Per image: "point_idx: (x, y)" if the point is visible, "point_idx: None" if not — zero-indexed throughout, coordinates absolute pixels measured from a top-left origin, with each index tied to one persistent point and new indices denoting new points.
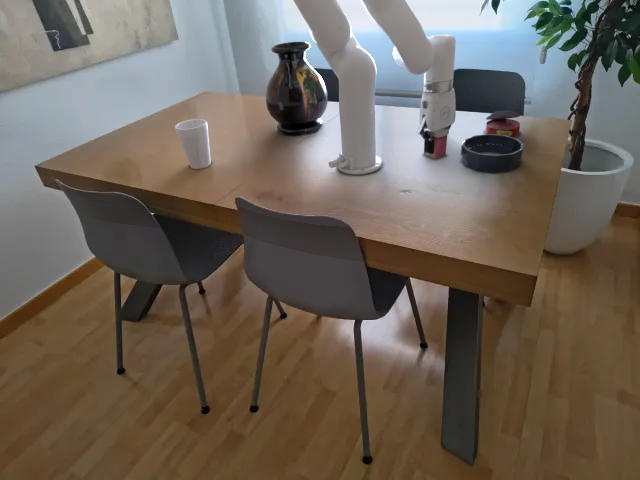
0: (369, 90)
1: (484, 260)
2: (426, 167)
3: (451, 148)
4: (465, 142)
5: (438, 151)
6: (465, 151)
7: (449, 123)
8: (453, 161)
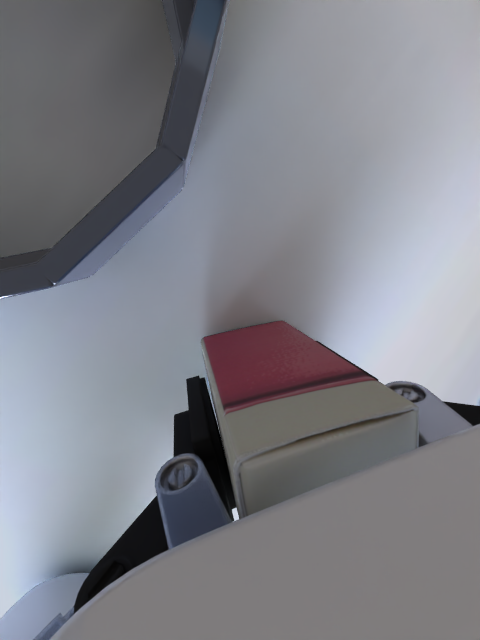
0: None
1: None
2: (379, 256)
3: (103, 416)
4: (90, 212)
5: (280, 336)
6: (219, 37)
7: (242, 570)
8: (213, 237)
